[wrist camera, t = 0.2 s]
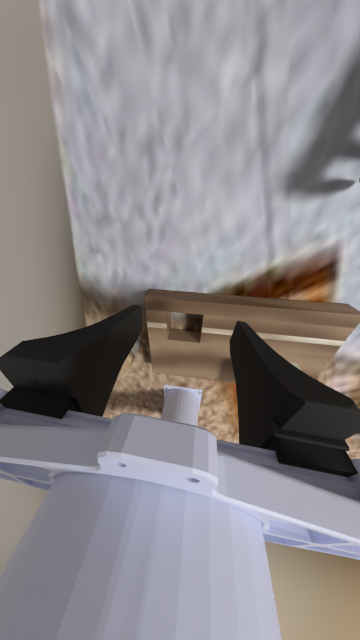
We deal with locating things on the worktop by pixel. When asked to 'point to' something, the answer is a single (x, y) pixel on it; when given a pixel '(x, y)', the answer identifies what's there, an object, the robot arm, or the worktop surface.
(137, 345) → the peg
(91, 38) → the worktop surface
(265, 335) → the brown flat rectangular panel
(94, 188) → the worktop surface
